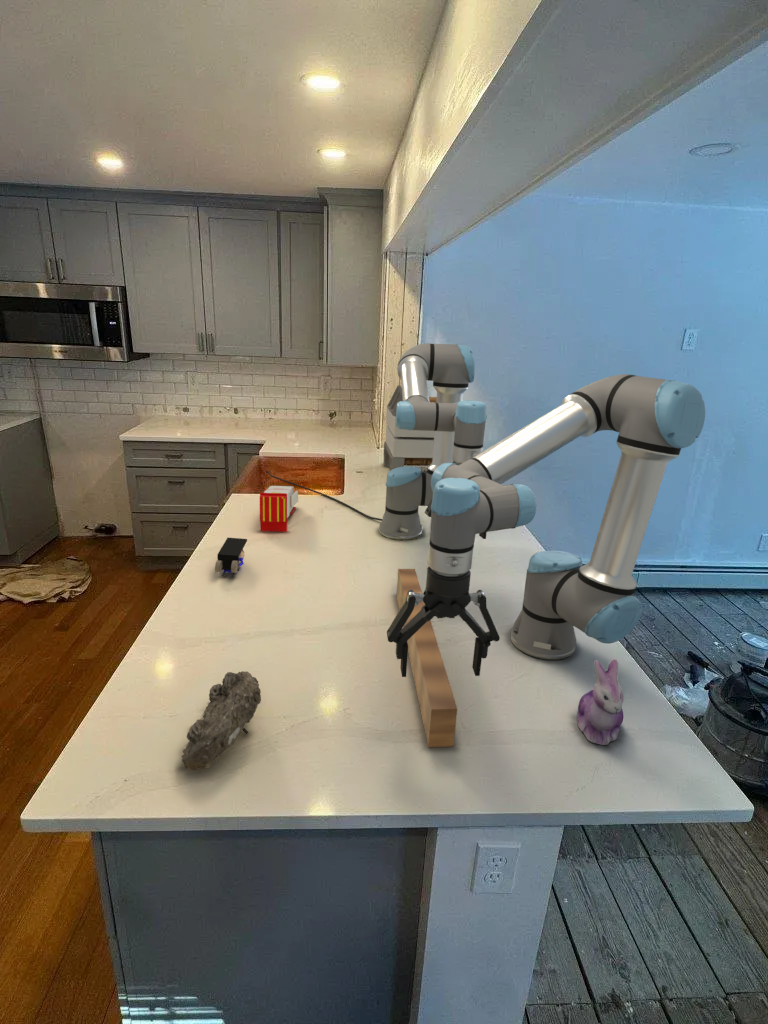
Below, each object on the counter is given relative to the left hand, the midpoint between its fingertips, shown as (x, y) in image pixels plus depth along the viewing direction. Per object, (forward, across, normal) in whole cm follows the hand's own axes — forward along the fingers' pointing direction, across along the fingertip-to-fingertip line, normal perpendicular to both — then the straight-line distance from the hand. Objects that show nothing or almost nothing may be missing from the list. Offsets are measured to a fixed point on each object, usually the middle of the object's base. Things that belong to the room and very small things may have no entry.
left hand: (459, 539), depth 153 cm
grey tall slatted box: (+15, +33, +120) cm, 125 cm away
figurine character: (+17, -59, +29) cm, 68 cm away
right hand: (+6, -24, -48) cm, 54 cm away
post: (+18, -20, -25) cm, 36 cm away
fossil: (+18, -63, -40) cm, 76 cm away
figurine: (+18, +6, -56) cm, 60 cm away
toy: (+16, -40, +70) cm, 82 cm away
